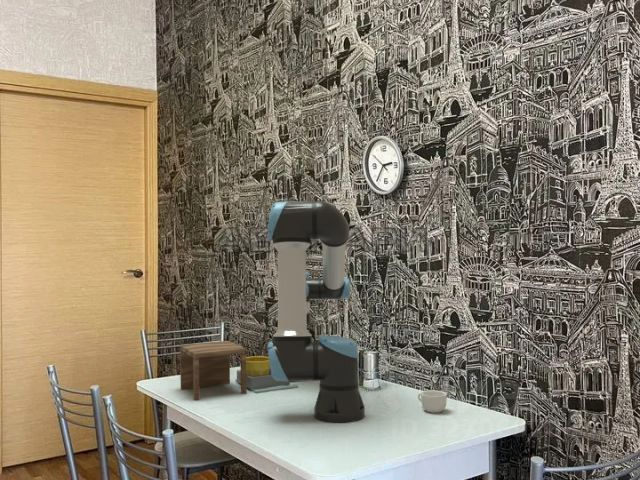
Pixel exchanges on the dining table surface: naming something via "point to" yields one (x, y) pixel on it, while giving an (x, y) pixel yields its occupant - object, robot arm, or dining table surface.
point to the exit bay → (274, 388)
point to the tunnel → (209, 365)
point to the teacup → (433, 400)
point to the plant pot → (257, 366)
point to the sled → (261, 381)
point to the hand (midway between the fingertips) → (300, 375)
